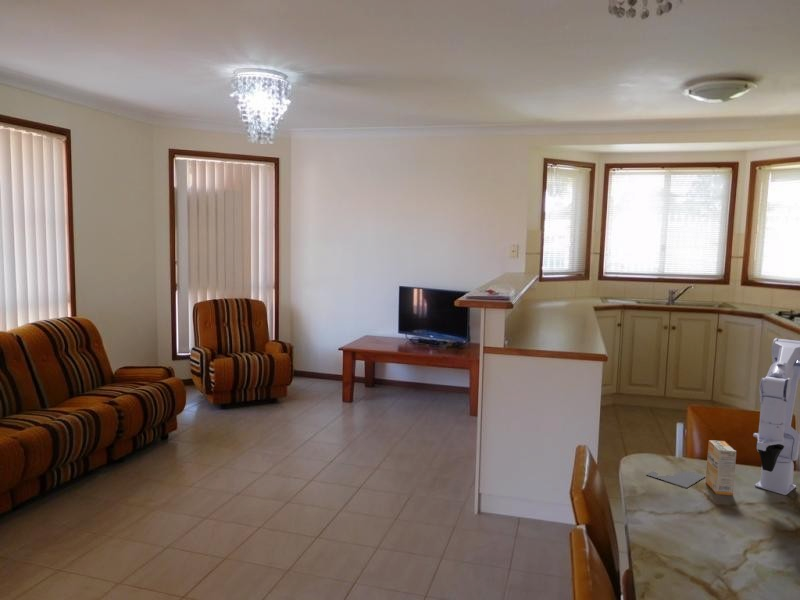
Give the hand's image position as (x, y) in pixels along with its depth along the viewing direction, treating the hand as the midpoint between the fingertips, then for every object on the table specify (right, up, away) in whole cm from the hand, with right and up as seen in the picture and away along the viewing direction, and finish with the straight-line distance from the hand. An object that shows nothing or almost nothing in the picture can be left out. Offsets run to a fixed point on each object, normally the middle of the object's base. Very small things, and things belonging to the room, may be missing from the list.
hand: (767, 470), depth 160 cm
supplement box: (-8, -9, +10) cm, 15 cm away
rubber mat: (-16, -7, +19) cm, 26 cm away
